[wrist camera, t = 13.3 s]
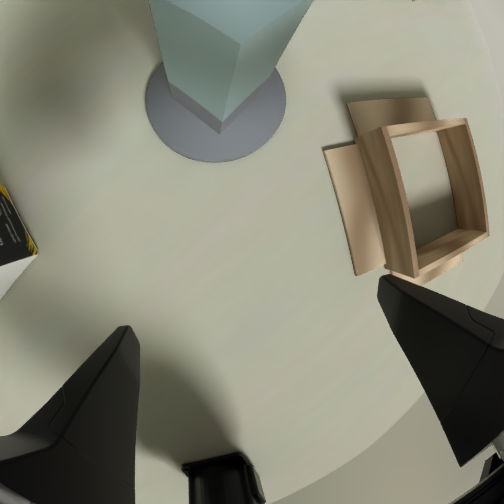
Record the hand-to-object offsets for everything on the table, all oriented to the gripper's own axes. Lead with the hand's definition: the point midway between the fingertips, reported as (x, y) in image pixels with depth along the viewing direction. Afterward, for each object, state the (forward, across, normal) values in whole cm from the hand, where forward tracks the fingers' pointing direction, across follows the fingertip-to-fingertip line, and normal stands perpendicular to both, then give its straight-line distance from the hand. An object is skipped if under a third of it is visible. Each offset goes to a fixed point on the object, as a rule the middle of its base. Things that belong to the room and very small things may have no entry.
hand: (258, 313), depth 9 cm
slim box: (+14, 0, -8) cm, 16 cm away
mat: (+14, 0, -8) cm, 16 cm away
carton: (+12, -16, +1) cm, 21 cm away
